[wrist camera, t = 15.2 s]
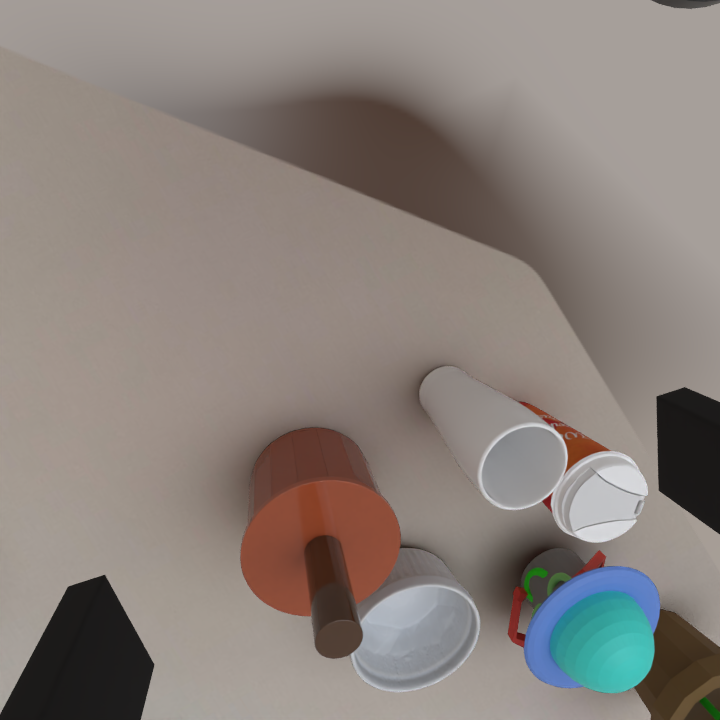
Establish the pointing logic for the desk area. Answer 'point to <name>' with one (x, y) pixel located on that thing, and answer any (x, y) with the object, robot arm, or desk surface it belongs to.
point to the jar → (306, 463)
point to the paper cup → (594, 487)
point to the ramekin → (415, 625)
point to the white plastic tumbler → (494, 439)
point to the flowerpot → (682, 673)
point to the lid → (322, 555)
